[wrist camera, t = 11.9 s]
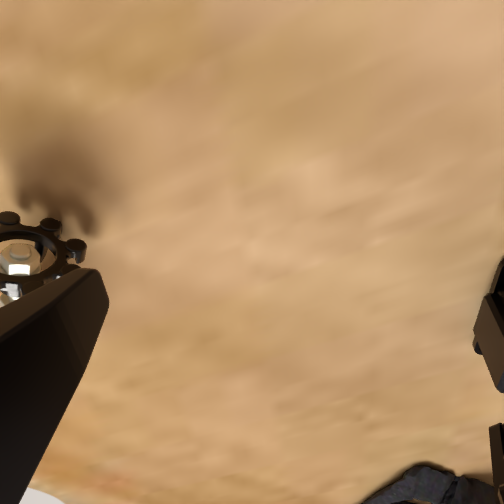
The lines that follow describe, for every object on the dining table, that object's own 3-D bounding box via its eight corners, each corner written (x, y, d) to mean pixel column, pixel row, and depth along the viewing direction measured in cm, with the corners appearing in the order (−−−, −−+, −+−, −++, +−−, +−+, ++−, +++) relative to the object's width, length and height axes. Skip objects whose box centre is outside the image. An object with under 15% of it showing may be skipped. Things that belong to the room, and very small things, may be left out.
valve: (84, 360, 31) (110, 240, 24) (32, 442, 25) (45, 318, 18) (0, 327, 30) (1, 195, 23) (-73, 404, 25) (-99, 262, 18)
